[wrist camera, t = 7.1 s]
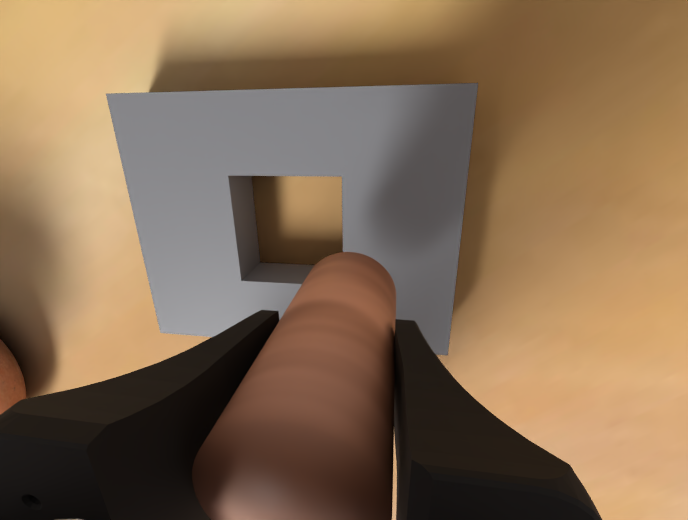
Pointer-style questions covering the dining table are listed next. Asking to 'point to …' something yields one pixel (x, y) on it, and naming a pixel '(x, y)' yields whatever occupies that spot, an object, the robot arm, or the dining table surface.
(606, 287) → the dining table surface
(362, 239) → the grey flat holed block
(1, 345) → the ceramic jug
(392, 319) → the terracotta peg
